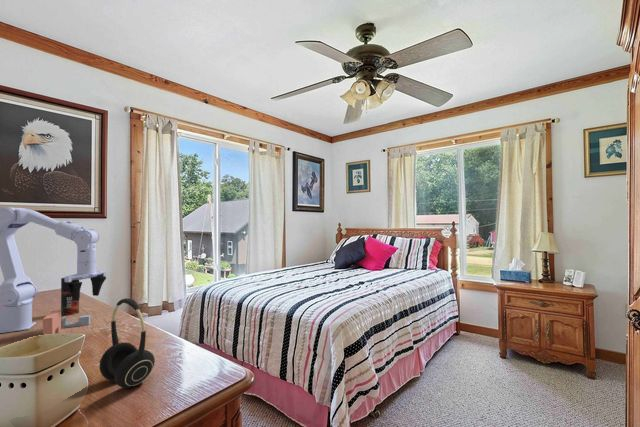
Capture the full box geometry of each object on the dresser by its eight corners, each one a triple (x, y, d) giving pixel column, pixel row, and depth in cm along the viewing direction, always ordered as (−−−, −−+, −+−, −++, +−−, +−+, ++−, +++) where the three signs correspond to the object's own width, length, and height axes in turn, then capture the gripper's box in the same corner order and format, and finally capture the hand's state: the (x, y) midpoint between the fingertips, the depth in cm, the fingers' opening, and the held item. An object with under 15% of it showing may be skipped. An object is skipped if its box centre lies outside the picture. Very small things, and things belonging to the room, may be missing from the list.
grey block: (54, 329, 112) (54, 320, 112) (56, 327, 114) (56, 318, 114) (88, 324, 116) (88, 316, 117) (90, 322, 119) (90, 314, 119)
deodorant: (63, 316, 127) (63, 279, 127) (59, 313, 130) (59, 278, 131) (80, 313, 131) (81, 277, 132) (76, 310, 135) (76, 275, 135)
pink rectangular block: (42, 340, 101) (43, 318, 101) (52, 330, 110) (52, 310, 110) (52, 339, 102) (52, 317, 103) (60, 329, 111) (61, 310, 111)
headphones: (130, 367, 82) (130, 291, 83) (162, 382, 74) (162, 298, 75) (92, 382, 75) (93, 298, 75) (124, 400, 67) (124, 307, 67)
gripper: (75, 264, 109) (75, 303, 109) (112, 259, 123) (112, 294, 123) (60, 264, 111) (59, 302, 111) (98, 259, 125) (97, 293, 125)
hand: (86, 297), depth 117 cm, fingers open, 7 cm apart
